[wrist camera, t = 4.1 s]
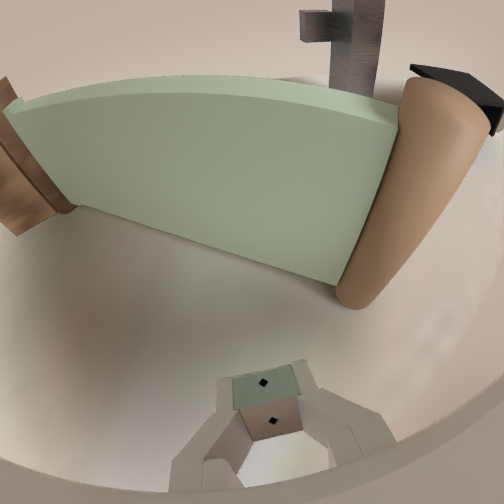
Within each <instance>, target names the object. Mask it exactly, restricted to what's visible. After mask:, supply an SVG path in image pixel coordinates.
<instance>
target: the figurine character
mask: <svg viewBox="0 0 504 504" xmlns="http://www.w3.org/2000/svg"><path fill="white" fill-rule="evenodd" d="M410 70H412V71H413V72H415V73H416V74H418V75H419V76H421V77H424V78H429V79H433V80H436V81H439V82H442V83H444V84H446V85H448V86H450V87H452V88H454V89H456V90H458V91H459V92H461V93H462V94H464V95H465V96H467V97H468V98H469V99H470V100H472V101H473V102H474V103H475V104H476V105H477V106H478V107H479V108H480V109H481V110H482V111H483V112H484V114H485V115H486V117H487V118H488V120H489V122H490V126H491V129H490V131H489V133H488V134H489V135H491V136H494V134H495V132H500V131H502V130H503V129H504V100H503V99H502V98H501V97H499V96H498V95H497V94H495V93H494V92H493V91H492V90H490V89H489V88H488V87H487V86H485V85H484V84H483V83H481V82H480V81H478V80H477V79H476V78H474V77H473V76H471V75H470V74H468V73H464V72H459V71H454V70H448V69H443V68H437V67H431V66H424V65H416V64H411V65H410Z"/></svg>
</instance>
